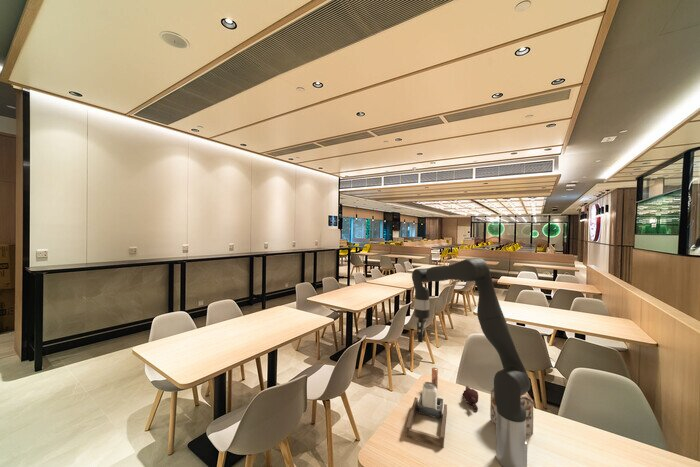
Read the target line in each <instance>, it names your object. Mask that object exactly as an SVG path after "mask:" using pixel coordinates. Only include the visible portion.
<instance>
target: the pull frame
mask: <svg viewBox="0 0 700 467" xmlns="http://www.w3.org/2000/svg"><path fill="white" fill-rule="evenodd" d="M438 370H439V369H438V368H437V367H432V368H431V383H434V384H435V385H436V389H437V390H438V383H439V382H438V378H439V377H438V374H439V372H438ZM437 406H439V409H433V408H428V407H425V406H422V393H420V395H419V400H418V405H417V410H416V413H417V414H421V415H425V416H429V417H433V418H437V419H441V420H442V418H443V410H444V399H443V398H441V397H437Z"/></svg>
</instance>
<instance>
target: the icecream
mask: <svg viewBox="0 0 700 467" xmlns="http://www.w3.org/2000/svg"><path fill="white" fill-rule="evenodd" d="M462 398H463V399H464V400H465V402H466V403H467V404H469V405H472V406H473V409H474V411H475V412H478V410H479V408H478V405H477V403H478V402H479V393H478V391H477V390H476V389H474V388H470V387H469V386H468V385H466V386H465V390H464V391H463V392H462Z"/></svg>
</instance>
